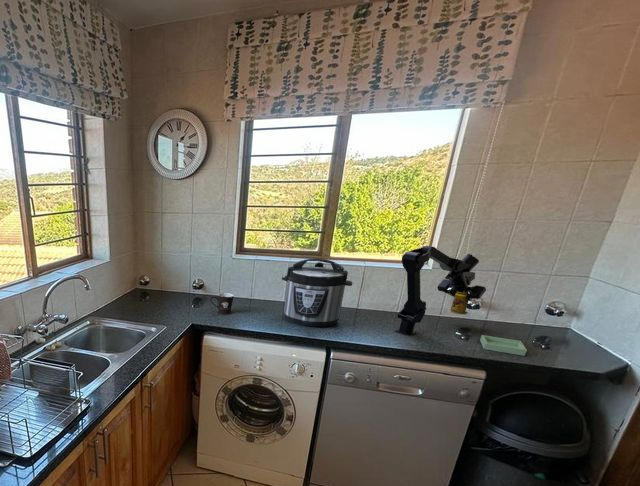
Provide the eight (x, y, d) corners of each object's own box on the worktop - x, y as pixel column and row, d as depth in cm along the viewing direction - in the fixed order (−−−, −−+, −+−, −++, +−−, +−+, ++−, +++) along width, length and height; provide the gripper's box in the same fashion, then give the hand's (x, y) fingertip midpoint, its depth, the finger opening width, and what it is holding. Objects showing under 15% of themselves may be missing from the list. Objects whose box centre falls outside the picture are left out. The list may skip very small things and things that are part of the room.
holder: (483, 349, 173) (485, 343, 172) (480, 340, 183) (481, 335, 182) (524, 355, 167) (527, 350, 166) (518, 346, 177) (520, 340, 176)
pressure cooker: (267, 316, 214) (275, 256, 203) (304, 309, 227) (313, 252, 216) (314, 333, 190) (325, 266, 178) (352, 324, 203) (365, 261, 192)
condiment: (447, 312, 201) (454, 288, 197) (451, 309, 207) (458, 286, 202) (465, 315, 196) (472, 291, 192) (468, 312, 202) (476, 288, 197)
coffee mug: (234, 311, 221) (236, 294, 218) (228, 315, 215) (230, 297, 211) (215, 308, 227) (216, 291, 224) (208, 312, 220) (210, 294, 217)
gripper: (490, 269, 183) (495, 291, 192) (447, 263, 199) (453, 283, 208) (475, 288, 183) (481, 308, 192) (433, 280, 198) (440, 299, 207)
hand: (463, 299), depth 199 cm, fingers closed on condiment, 6 cm apart
